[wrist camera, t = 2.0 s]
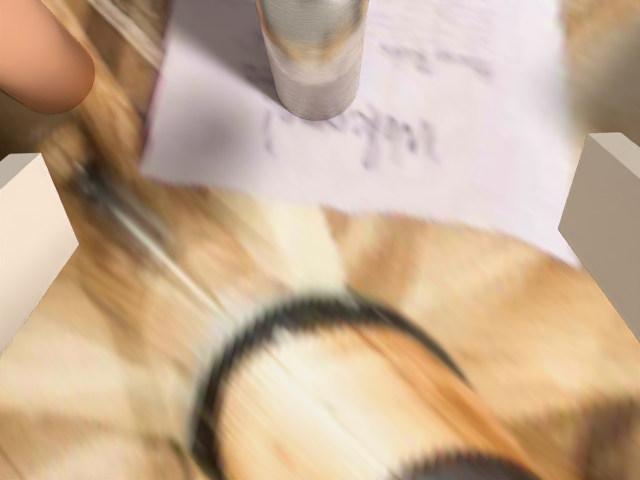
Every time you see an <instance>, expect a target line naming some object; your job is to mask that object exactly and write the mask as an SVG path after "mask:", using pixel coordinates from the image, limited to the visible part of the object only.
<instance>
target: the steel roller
mask: <svg viewBox="0 0 640 480" xmlns="http://www.w3.org/2000/svg"><path fill="white" fill-rule="evenodd" d="M368 3H369V0H255V5H256V9H257V13H258V17H259V21H260V25H261V29H262V33H263V38H264V42H265V46H266V50H267V54H268V58H269V62H270V66H271V70H272V75H273V79H274V83H275V87H276V91H277V94H278V97H279V99H280V101H281V102H282V104H283V105H284V106H285V107H286V108H287V109H288V110H289V111H290V112H291V113H293V114H294V115H296V116H298V117H300V118H303V119H306V120H312V121H320V120H326V119H330V118H333V117H335V116H337V115H339V114H341V113H342V112H343V111H345V110H346V109H347V108H348V107H349V106H350V104H351V103H352V102H353V100H354V98H355V96H356V93H357V90H358V85H359V77H360V68H361V60H362V52H363V44H364V36H365V27H366V19H367V11H368Z"/></svg>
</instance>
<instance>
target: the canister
mask: <svg viewBox="0 0 640 480" xmlns="http://www.w3.org/2000/svg"><path fill="white" fill-rule="evenodd" d="M94 76H95V68H94V63H93V60H92V58H91V56H90V54H89V53H88V51H87V50H86V49H85V48H84V47H83V46H82V45H81V44H80V42H79V41H78V40H77V39H76V38H75V37H74V36H73V35H72V34H71V33H70V32H69V31H68V29H67V28H66V27H65V26H64V25H63V24H62V23H61V22H60V21H59V20H58V19H57V18H56V17H55V15H54V14H53V13H52V12H51V11H50V10H49V9H48V8H47V7H46V6H45V5H44V4H43V2H42V1H41V0H0V89H1V90H3V91H4V92H6V93H7V94H9V95H10V96H12V97H13V98H14V99H16V100H17V101H19V102H20V103H22V104H23V105H25V106H26V107H28V108H29V109H31V110H33V111H35V112H38V113H42V114H59V113H63V112H66V111H68V110H70V109H72V108H74V107H75V106H77V105H78V104H79V103H81V102H82V101H83V100H84V99H85V97H86V96H87V95H88V93H89V91H90V90H91V88H92V85H93V82H94Z"/></svg>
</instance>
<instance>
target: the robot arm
mask: <svg viewBox="0 0 640 480" xmlns="http://www.w3.org/2000/svg"><path fill="white" fill-rule="evenodd" d="M558 230H559V232H560V233H561V235H562V236H563V237H564V239H565V240H566V242H567V243H568V244H569V246H570V247H571V248H572V250H573V251H574V253H575V254H576V255H577V257H578V258H579V259H580V261H581V262H582V264H583V265H584V266H585V268H586V269H587V271H588V272H589V273H590V275H591V276H592V277H593V279H594V280H595V282H596V283H597V284H598V286H599V287H600V289H601V290H602V291H603V293H604V294H605V295H606V297H607V298H608V300H609V301H610V302H611V304H612V305H613V306H614V308H615V309H616V311H617V312H618V313H619V315H620V316H621V318H622V319H623V320H624V322H625V323H626V324H627V326H628V327H629V329H630V330H631V331H632V333H633V334H634V335H635V337H636V338H637V340H638V341H639V342H640V147H639V146H637V145H636V144H635V143H634V142H632V141H631V140H630V139H628V138H627V137H626V136H624V135H623V134H622V133H621V132H615V133H588V134H587V137H586V140H585V143H584V147H583V150H582V153H581V156H580V159H579V163H578V166H577V169H576V172H575V175H574V179H573V182H572V185H571V188H570V191H569V195H568V198H567V201H566V204H565V207H564V211H563V214H562V217H561V220H560V223H559V227H558ZM78 245H79V243H78V241H77V239H76V236H75V234H74V231H73V229H72V227H71V224H70V222H69V220H68V217H67V215H66V212H65V210H64V208H63V205H62V203H61V200H60V198H59V196H58V193H57V191H56V188H55V186H54V184H53V181H52V179H51V176H50V174H49V172H48V169H47V167H46V165H45V162H44V160H43V157H42V155H41V153H26V154H9V155H8V156H7V157H5V158H4V159H3V160H2V161H1V162H0V357H1V356H2V354H3V353H4V351H5V350H6V348H7V347H8V346H9V344H10V343H11V341H12V340H13V338H14V337H15V336H16V334H17V333H18V331H19V330H20V328H21V327H22V325H23V324H24V323H25V321H26V320H27V318H28V317H29V315H30V314H31V313H32V311H33V310H34V308H35V307H36V305H37V304H38V303H39V301H40V300H41V298H42V297H43V295H44V294H45V292H46V291H47V290H48V288H49V287H50V285H51V284H52V282H53V281H54V280H55V278H56V277H57V275H58V274H59V272H60V271H61V269H62V268H63V267H64V265H65V264H66V262H67V261H68V259H69V258H70V257H71V255H72V254H73V252H74V251H75V249H76V248H77V246H78Z"/></svg>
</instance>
